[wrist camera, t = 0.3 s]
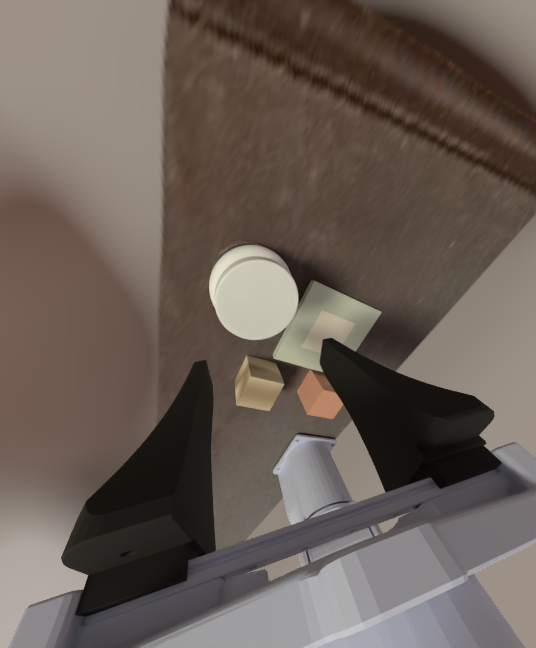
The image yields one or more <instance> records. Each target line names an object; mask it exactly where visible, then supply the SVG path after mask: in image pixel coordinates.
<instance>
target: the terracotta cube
mask: <svg viewBox="0 0 536 648" xmlns="http://www.w3.org/2000/svg"><path fill="white" fill-rule="evenodd" d="M297 393H298V395H299V397H300V400H301V402H302V404H303V406H304V408H305V411H306V413H307V414H308V415H313V416H319V417H324V418H329V419H333V418H334V417H335V415H336V414H337V413H338V411H339V410H340V408H341V407H342V406H343V403H342V401H341V400H340V398H339V397H338V395H337V394H336V392H335V391H334V389H333V388H332V386H331V384H330V383H329V381H328V380H327V378H326V376H325V374H324V373H323V372H319V371H316V370H312V369H310V371H309V372H308V374H307V376H306V377H305V379H304V381H303V382H302V384H301V386H300V387H299V389H298V391H297Z"/></svg>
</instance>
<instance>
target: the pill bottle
mask: <svg viewBox="0 0 536 648" xmlns="http://www.w3.org/2000/svg"><path fill="white" fill-rule="evenodd" d="M209 291H210V297H211V300H212V303H213V305H214V307H215V309H216V313H217V316H218V318H219V319H220V321H221V323H222V324H223V325H224V327H225V328H226V329H227V330H229V331H230V332H231V333H233V334H235V335H236V336H238V337H241V338H244V339H250V340H261V339H266V338H269V337H272V336H274V335H276V334H278V333H279V332H281V331H282V330H283V329H285V328H286V327H287V326H288V324H289V323H290V322H291V321H292V319H293V317H294V315H295V313H296V310H297V307H298V289H297V286H296V283H295V281H294V279H293V278H292V276H291V273H290V271H289V268H288V266H287V265H286V263H285V262H284V261H283V259H282V258H281V257H280V256H279V255H278V254H276V253H275V252H273V251H272V250H270V249H268V248H266V247H263V246H261V245H259V244H257V243H255V242H251V241H247V240H240V241H235V242H232V243H230V244H228V245H227V246H225V247H224V248H223V249H222V250H221V251H220V252H219V254H218V255H217V257H216V260H215V263H214V266H213V269H212V272H211V276H210V282H209Z"/></svg>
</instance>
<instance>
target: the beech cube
mask: <svg viewBox="0 0 536 648" xmlns="http://www.w3.org/2000/svg"><path fill="white" fill-rule="evenodd" d="M283 386H284V382H283V379H282V377H281V374H280V372H279V369H278V367H277V364H276V363H274V362H270V361H267V360H263V359H259V358H256V357H252V356H248V355H247V356H246V358H245V360H244V362H243V364H242V366H241V368H240V371H239V373H238V375H237V377H236V379H235V392H236V405H239V406H244V407H250V408H256V409H261V410H267V411H270V409H271V407H272V405H273V404H274V402H275V400H276V398H277V397H278V395H279V393H280V391H281V390H282V388H283Z"/></svg>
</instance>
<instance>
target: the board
mask: <svg viewBox="0 0 536 648" xmlns="http://www.w3.org/2000/svg"><path fill="white" fill-rule="evenodd" d="M381 313H382V312H381V311H379V310H377V309H375V308H372V307H370V306H368V305H366V304H364V303H362V302H359V301H357V300H355V299H353V298H351V297H349V296H346V295H344V294H342V293H340V292H338V291H336V290H334V289H331V288H329V287H327V286H325V285H323V284H321V283H318V282H316V281H314V280H312V279H311V281H310V283H309V285H308V287H307V289H306V291H305V293H304V295H303V297H302V299H301V301H300V303H299V305H298V307H297V310H296V313H295V315H294V317H293V319H292V321H291V322H290V323H289V324H288V326H287V328H286V330H285V332H284V334H283V336H282V338H281V339H280V341H279V343H278V345H277V347H276V349H275V351H274V353H273V357H274V359H277V360H281V361H284V362H288V363H292V364H295V365H299V366H302V367H306V368H309V369H313V370H317V371H320V372H323V370H322V368H321V366H320V364H319V363H320V355H321V348H322V340H323V339H327V338H333V339H335V340H337V341H338V342H340V343H342V344H343V345H345V346H347V347H349V348H350V349H352V350H354V351H355V352H356V350H357V349H358V347H359V346H360V344H361V343H362V341H363V340H364V338H365V337H366V335H367V334H368V332H369V331H370V329H371V328H372V326H373V325H374V323H375V322H376V320H377V319H378V317H379V316H380V314H381Z"/></svg>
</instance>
